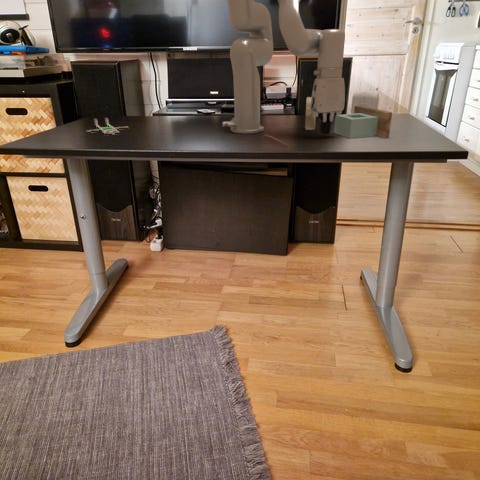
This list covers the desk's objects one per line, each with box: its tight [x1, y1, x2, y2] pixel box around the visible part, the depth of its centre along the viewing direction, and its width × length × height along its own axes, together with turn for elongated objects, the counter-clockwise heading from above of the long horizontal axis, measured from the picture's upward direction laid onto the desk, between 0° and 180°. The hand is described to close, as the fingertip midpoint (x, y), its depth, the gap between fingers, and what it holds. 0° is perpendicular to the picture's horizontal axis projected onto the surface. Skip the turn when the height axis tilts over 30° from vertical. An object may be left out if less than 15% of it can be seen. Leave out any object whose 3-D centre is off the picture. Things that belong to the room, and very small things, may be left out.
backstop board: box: [354, 106, 393, 139], centre depth 135 cm, size 20×18×9 cm
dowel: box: [304, 96, 317, 131], centre depth 145 cm, size 4×4×12 cm
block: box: [333, 113, 378, 139], centre depth 136 cm, size 10×10×6 cm
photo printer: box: [350, 89, 380, 114], centre depth 160 cm, size 10×4×12 cm, turn 60°
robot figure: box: [85, 117, 130, 135], centre depth 160 cm, size 16×3×22 cm
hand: (324, 133), depth 134 cm, fingers closed
